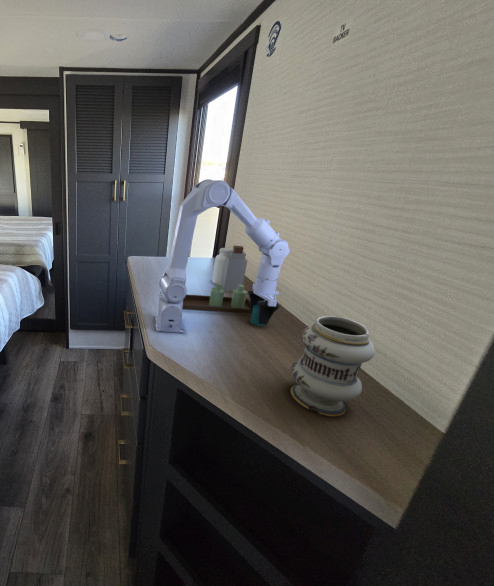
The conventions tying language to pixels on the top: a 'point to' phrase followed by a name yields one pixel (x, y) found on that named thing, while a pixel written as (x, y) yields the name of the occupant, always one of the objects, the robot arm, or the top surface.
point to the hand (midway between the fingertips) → (258, 318)
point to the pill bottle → (220, 265)
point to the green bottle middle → (216, 296)
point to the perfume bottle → (234, 268)
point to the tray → (203, 305)
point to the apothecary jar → (331, 364)
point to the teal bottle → (255, 315)
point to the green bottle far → (238, 297)
